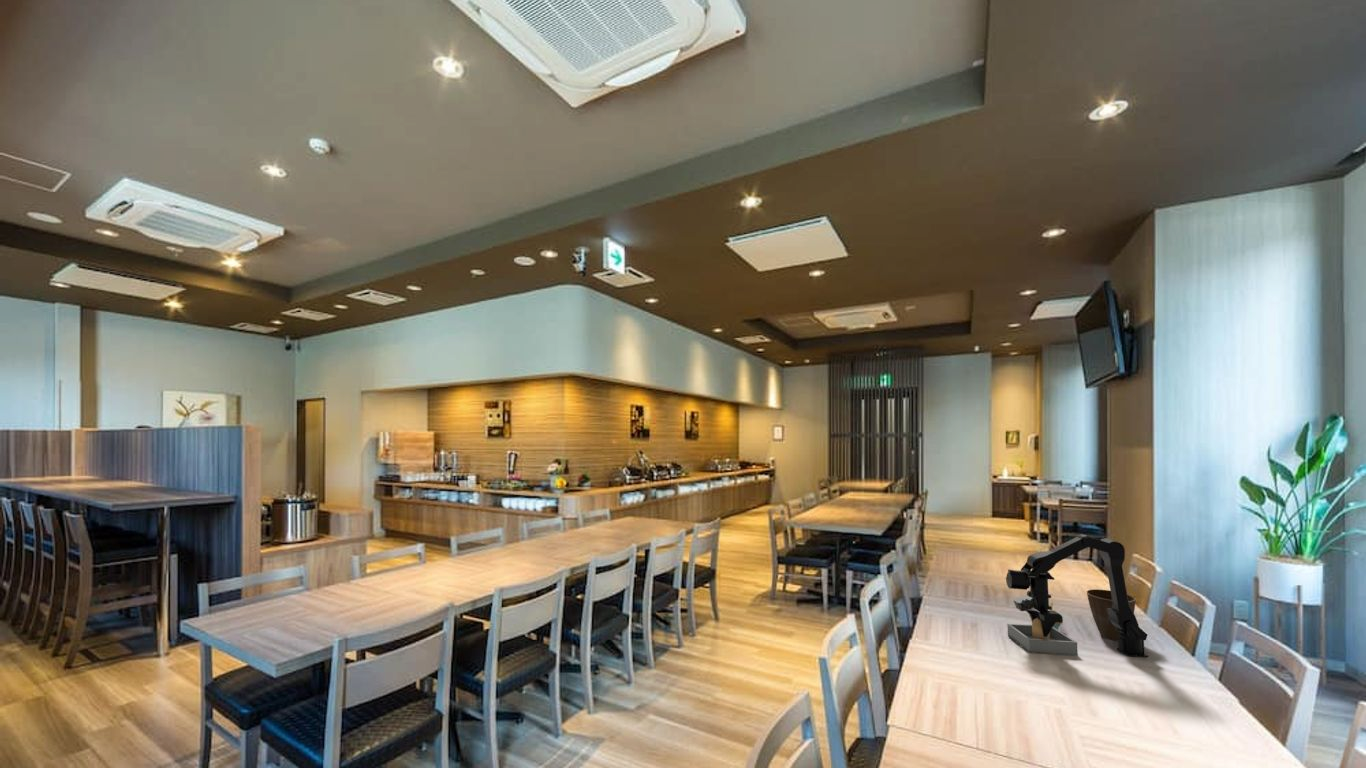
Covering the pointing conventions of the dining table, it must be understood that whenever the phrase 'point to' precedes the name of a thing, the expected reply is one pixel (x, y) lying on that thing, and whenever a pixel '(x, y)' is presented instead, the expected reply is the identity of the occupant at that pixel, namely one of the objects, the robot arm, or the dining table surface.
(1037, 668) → the dining table surface
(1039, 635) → the tan oval piece
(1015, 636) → the bin
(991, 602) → the dining table surface
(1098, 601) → the plant pot
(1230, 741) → the dining table surface
